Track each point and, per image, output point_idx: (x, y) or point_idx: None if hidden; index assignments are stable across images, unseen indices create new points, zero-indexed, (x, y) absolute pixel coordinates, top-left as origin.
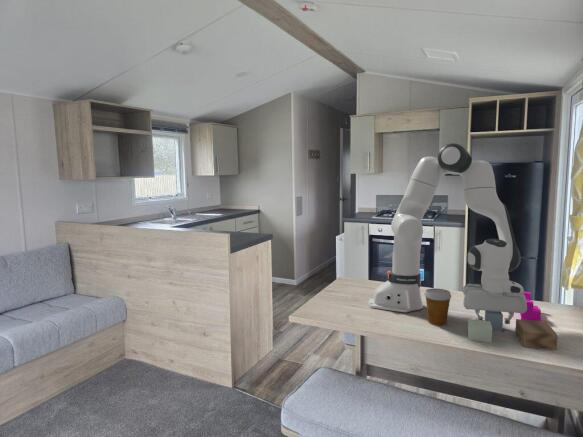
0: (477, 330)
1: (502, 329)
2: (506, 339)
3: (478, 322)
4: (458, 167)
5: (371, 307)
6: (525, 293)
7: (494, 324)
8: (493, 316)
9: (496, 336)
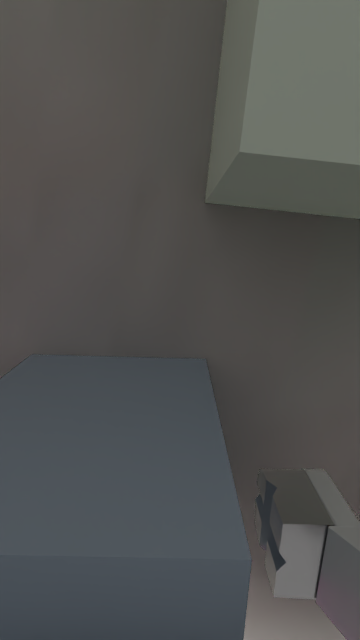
0: None
1: (20, 364)
2: (11, 53)
3: None
4: None
5: None
6: None
7: (105, 393)
8: (86, 501)
9: (129, 150)
